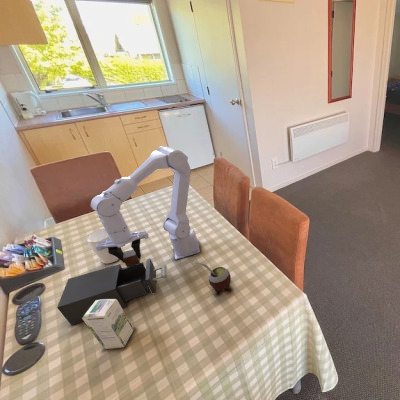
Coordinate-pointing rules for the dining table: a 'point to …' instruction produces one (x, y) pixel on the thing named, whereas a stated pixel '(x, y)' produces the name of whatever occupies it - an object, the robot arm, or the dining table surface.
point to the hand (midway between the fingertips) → (132, 258)
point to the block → (130, 258)
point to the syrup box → (108, 323)
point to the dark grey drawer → (138, 280)
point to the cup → (98, 238)
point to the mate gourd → (218, 278)
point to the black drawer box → (89, 292)
